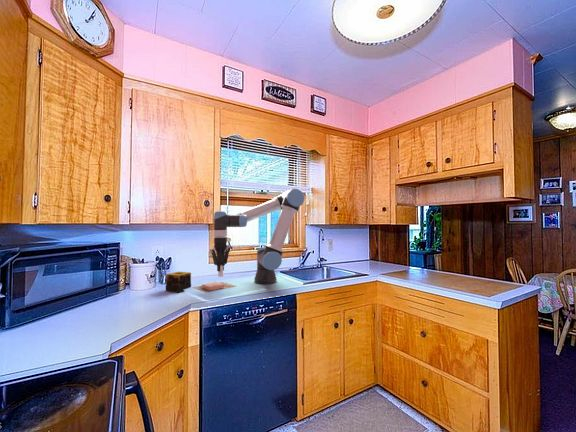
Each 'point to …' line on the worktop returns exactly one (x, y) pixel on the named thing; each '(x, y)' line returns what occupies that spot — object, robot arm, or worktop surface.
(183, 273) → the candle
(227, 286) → the board
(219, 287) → the tile
